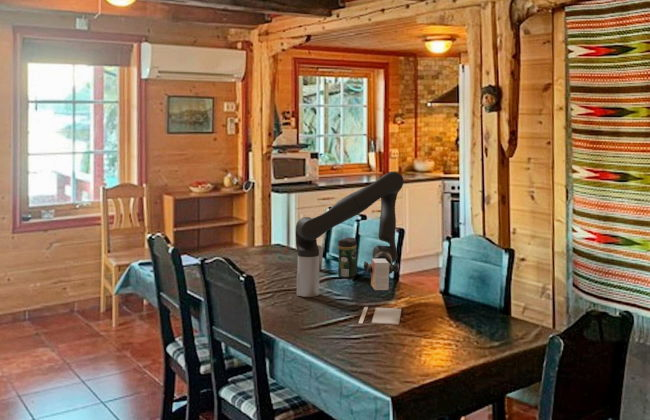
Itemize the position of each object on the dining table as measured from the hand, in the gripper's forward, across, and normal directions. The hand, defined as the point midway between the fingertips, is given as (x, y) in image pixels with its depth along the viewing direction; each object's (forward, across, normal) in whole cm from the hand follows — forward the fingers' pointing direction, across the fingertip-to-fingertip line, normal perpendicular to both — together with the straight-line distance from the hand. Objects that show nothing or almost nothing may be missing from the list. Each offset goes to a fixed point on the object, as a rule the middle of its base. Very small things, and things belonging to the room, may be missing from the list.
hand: (379, 271), depth 258 cm
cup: (-78, -37, +19) cm, 88 cm away
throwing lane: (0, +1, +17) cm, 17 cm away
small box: (-1, 0, +7) cm, 7 cm away
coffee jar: (-66, -20, +18) cm, 71 cm away
